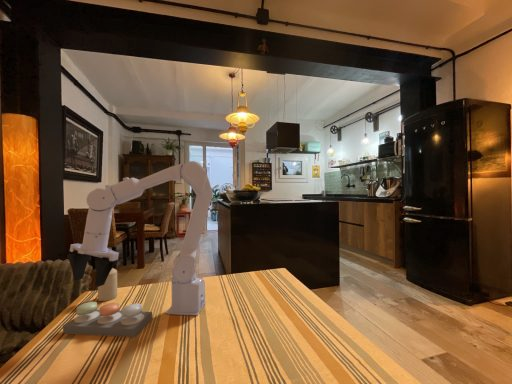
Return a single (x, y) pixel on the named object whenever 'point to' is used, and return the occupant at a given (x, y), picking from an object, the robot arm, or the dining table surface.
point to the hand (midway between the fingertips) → (88, 282)
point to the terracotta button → (109, 309)
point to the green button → (86, 308)
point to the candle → (108, 287)
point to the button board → (108, 324)
